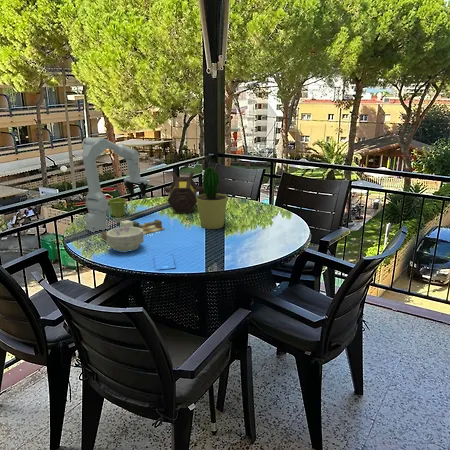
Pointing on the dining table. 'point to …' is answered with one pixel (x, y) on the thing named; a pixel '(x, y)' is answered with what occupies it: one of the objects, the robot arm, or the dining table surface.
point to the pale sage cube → (126, 223)
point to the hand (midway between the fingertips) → (138, 195)
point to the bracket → (136, 224)
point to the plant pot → (117, 206)
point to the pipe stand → (145, 228)
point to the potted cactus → (211, 201)
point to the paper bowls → (125, 238)
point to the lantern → (183, 193)
